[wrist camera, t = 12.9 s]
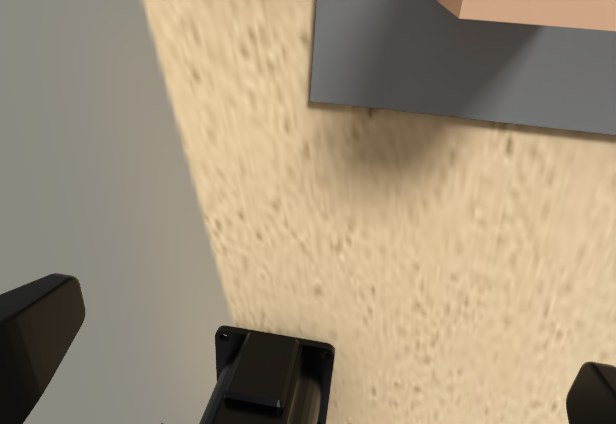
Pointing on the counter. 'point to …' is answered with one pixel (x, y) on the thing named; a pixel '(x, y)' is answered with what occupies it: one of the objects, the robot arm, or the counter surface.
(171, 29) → the counter surface
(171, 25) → the counter surface
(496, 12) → the block
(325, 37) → the mat
